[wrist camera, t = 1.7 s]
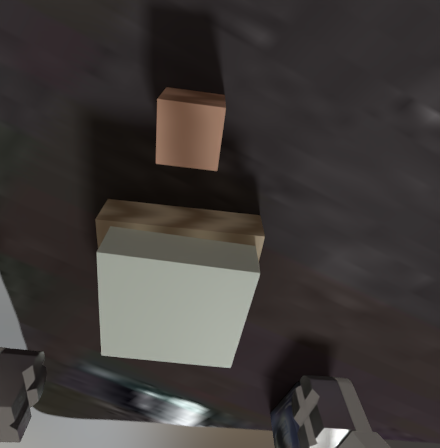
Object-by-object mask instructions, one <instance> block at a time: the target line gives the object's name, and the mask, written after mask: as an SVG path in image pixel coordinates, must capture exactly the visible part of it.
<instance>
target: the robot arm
mask: <svg viewBox="0 0 440 448" xmlns="http://www.w3.org/2000/svg"><path fill="white" fill-rule="evenodd" d="M44 359H45V356H44V352H42V351H31V350H20V349H10V348H2V347H0V442H20V441H21V439H22V437H23V435H24V432H25V430H26V428H27V426H28V423H29V421H30V419H31V412H30V407H32V406H33V405H34V404H35V403H37V402H38V401H39V399H40V396H41V394H42V392H43V389H44V385H45V382H46V375H47V371H46V367H45V366H44V365H42V364H43V362H44ZM300 383H301V386H299V387H297V388H295V390H294V392H293V394H292V402H291V405H292V413H293V417H294V419H295V421H296V422H297V423H298V424H299V426H300V427H299V430H298V432H297V435H298V440H299V444H300V448H391V447H390V446H389V445H388V444H387V443H386V442H385V441H384V440H383V439H382V438H381V437H380V436H379V434H378V433H377V432H372V430H371V428H370V425H369V423H368V420H367V418H366V416H365V413H364V411H363V408H362V406H361V404H360V401H359V399H358V397H357V394H356V392H355V389H354V387H353V385H352V382H351V381H350V380H349V379H346V378H336V377H328V376H313V375H304V376H302V378H301V380H300Z"/></svg>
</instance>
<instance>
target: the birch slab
mask: <svg viewBox="0 0 440 448" xmlns="http://www.w3.org/2000/svg"><path fill="white" fill-rule="evenodd" d="M95 221H96V232H97V242H98V248H99V247H100V245H101V243H102V241H103V239H104V237H105V235H106V233H107V232H108V230H109V228H110V226H113V227H120V228H128V229H135V230H142V231H150V232H157V233H164V234H172V235H179V236H186V237H194V238H201V239H208V240H216V241H223V242H230V243H238V244H245V245H252V246H256V250H257V256H258V262H259V258H260V254H261V250H262V246H263V242H264V238H265V235H264V230H263V226H262V221H261V217H260V215H252V214H243V213H234V212H225V211H215V210H206V209H197V208H187V207H178V206H169V205H160V204H150V203H141V202H132V201H122V200H113V199H108V200H107V201H106V203H105V205H104V206H103V208H102V209H101V211H100V213H99V214H98V216H97V217H96V219H95Z"/></svg>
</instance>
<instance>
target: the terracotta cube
mask: <svg viewBox="0 0 440 448" xmlns="http://www.w3.org/2000/svg"><path fill="white" fill-rule="evenodd" d="M225 111H226V103H225V95H221V94H214V93H206V92H199V91H192V90H185V89H177V88H170V87H166V88H165V90H164V91H163V92H162V93H161V95H160V96H159V97H158V98H157V132H156V164H162V165H170V166H179V167H187V168H195V169H204V170H212V171H217V170H218V163H219V156H220V148H221V141H222V133H223V126H224V118H225Z"/></svg>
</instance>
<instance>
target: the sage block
mask: <svg viewBox="0 0 440 448" xmlns="http://www.w3.org/2000/svg"><path fill="white" fill-rule="evenodd" d="M97 273H98V294H99V315H100V335H101V355H103V356H113V357H123V358H133V359H143V360H154V361H164V362H174V363H184V364H194V365H205V366H215V367H225V368H231V365H232V362H233V359H234V355H235V352H236V349H237V346H238V343H239V340H240V336H241V333H242V330H243V327H244V324H245V320H246V317H247V314H248V311H249V308H250V305H251V301H252V298H253V295H254V292H255V289H256V285H257V282H258V279H259V276H260V268H259V262H258V256H257V250H256V246H252V245H245V244H238V243H230V242H223V241H216V240H208V239H201V238H194V237H186V236H179V235H172V234H164V233H157V232H150V231H142V230H135V229H128V228H120V227H113V226H110V228H109V230H108V232H107V233H106V235H105V237H104V239H103V241H102V243H101V245H100V247H99V248H98V250H97Z"/></svg>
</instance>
